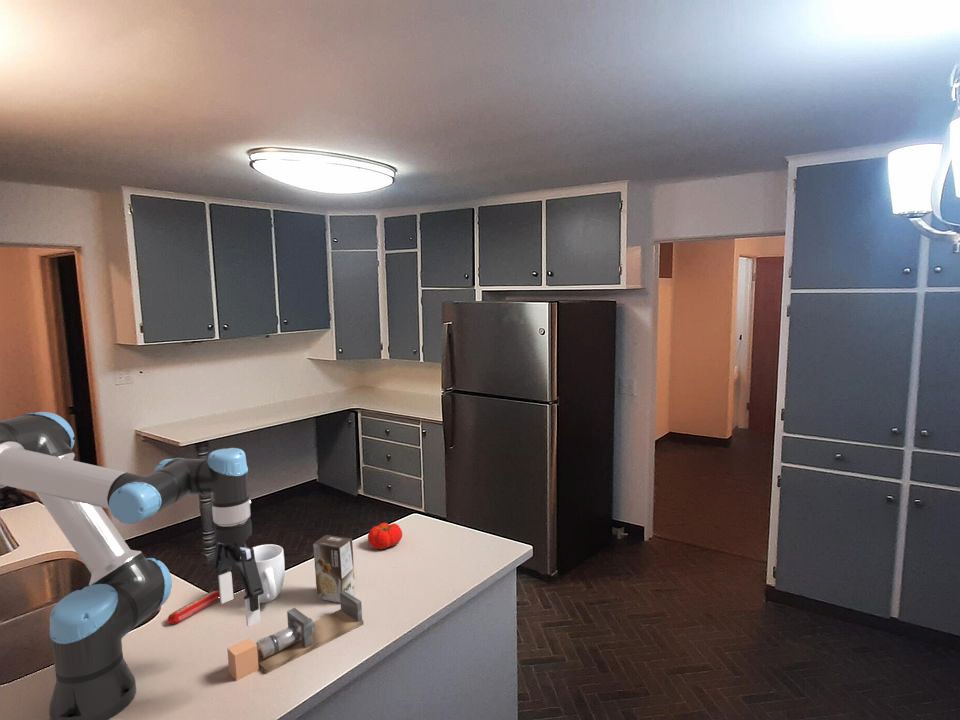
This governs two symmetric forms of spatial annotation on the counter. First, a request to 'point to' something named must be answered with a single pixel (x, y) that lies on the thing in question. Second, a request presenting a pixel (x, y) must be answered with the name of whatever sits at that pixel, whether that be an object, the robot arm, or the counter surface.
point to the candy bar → (193, 607)
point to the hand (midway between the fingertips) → (239, 611)
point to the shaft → (280, 640)
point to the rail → (324, 633)
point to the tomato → (384, 535)
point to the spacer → (243, 659)
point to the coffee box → (334, 567)
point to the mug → (270, 570)
